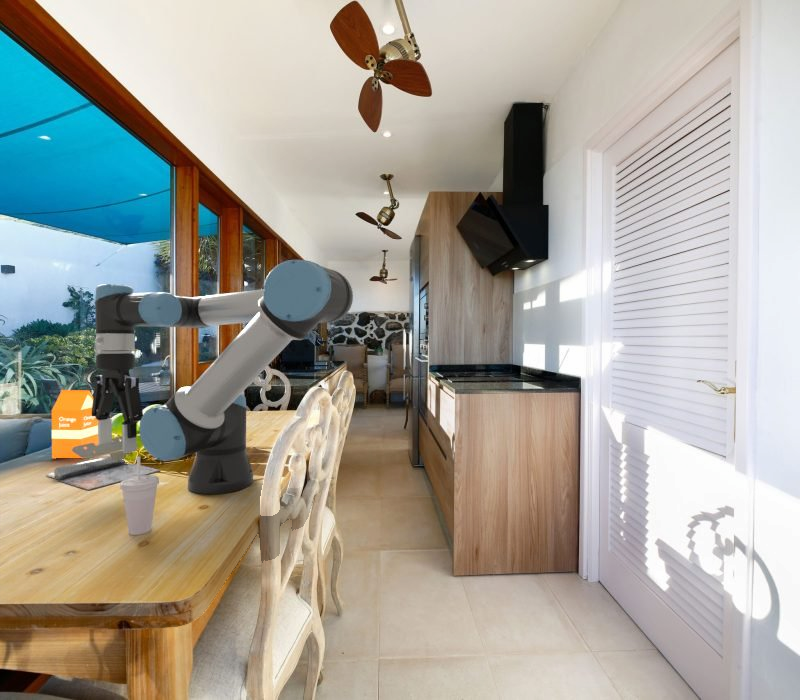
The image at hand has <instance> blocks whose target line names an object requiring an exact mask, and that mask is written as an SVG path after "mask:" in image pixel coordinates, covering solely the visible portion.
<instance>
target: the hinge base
mask: <svg viewBox="0 0 800 700" xmlns="http://www.w3.org/2000/svg"><path fill="white" fill-rule="evenodd" d="M125 463H126V462H125V461H124V460H122V459H121V460H117V461H113V460H112V458H111V456H110V455H109V456H105V457H104V456H103V457H100V458H95V459H89V460H86V461H81V462H77V463H73V464H67V465H63V466H59V467H55V468H54V471H53V472H49V473H46V477H48V478H51V477H52V479H54V478H55V479H56V480H57V479H58V480H57V482H61V483H64V484H66V483H67V484H66V485H68V486H69V485H70V486H72V485H73V486H72V487H75V486H76V488H78V489H79V488H80V489H82V490H86V491H91V490H95V489H100V488H102V487H103V486H104V487H106V486H110V484H111V485H115V484H118V483H121V482H122V481H123V480H125V479H127V478H131V477H135V476H137V463H133V464H127V463H126V464H125ZM104 468H105V469H104ZM158 472H161V469H157V468H155V467H154V468H153V467H149V466H146V465H141V464H140V476H142V475H152V474H154V473H158ZM83 473H84V474H83ZM114 483H115V484H114ZM99 487H100V488H99ZM104 487H103V488H104Z"/></svg>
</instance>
